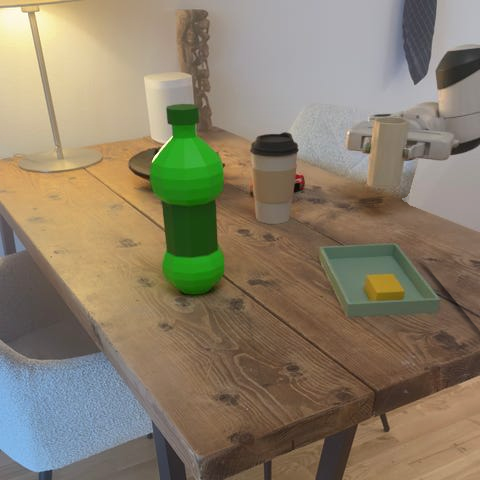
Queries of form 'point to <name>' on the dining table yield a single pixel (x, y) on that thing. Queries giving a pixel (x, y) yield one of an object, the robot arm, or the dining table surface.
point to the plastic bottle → (189, 203)
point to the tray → (373, 263)
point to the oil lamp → (144, 162)
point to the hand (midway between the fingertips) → (386, 151)
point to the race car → (298, 184)
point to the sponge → (383, 288)
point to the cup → (387, 152)
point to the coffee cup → (273, 176)
